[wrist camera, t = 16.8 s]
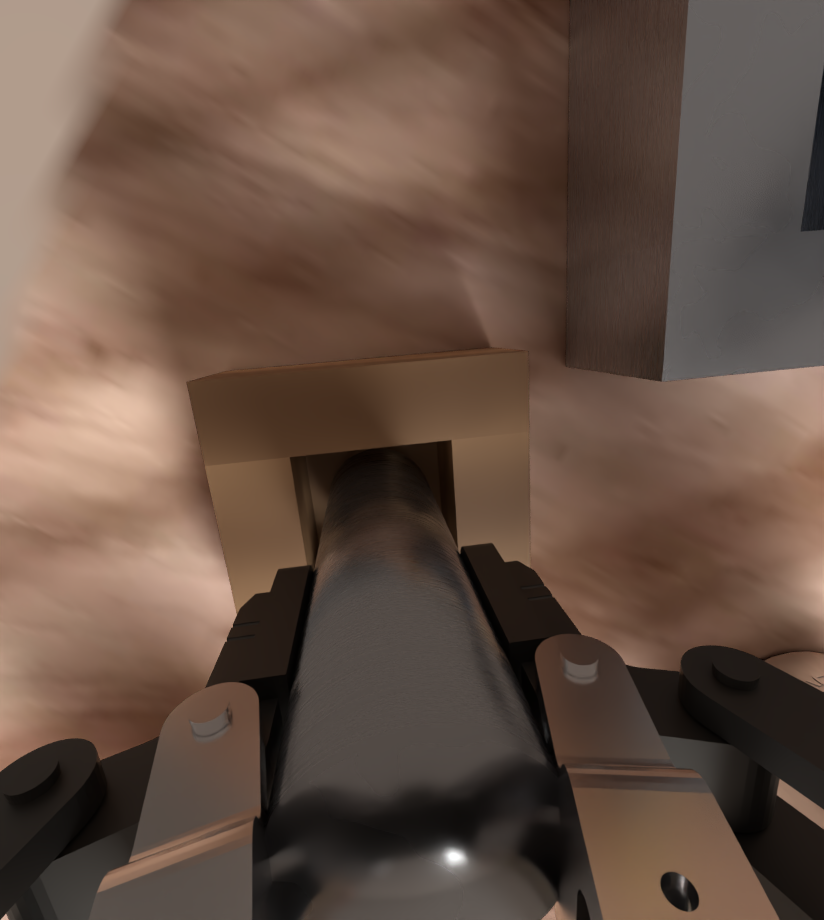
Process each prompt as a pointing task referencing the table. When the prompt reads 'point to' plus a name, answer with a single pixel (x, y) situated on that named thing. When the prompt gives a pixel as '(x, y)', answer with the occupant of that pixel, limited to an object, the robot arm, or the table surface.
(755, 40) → the socket block
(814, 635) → the table surface
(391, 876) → the cylinder
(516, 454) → the wooden square-hole block
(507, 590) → the robot arm
